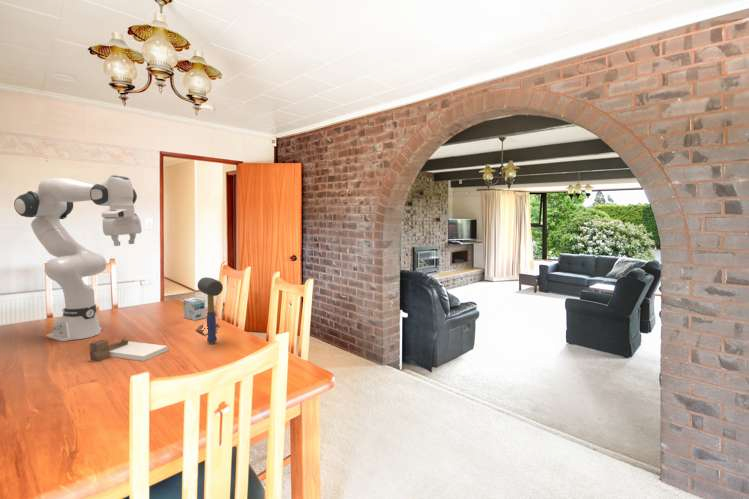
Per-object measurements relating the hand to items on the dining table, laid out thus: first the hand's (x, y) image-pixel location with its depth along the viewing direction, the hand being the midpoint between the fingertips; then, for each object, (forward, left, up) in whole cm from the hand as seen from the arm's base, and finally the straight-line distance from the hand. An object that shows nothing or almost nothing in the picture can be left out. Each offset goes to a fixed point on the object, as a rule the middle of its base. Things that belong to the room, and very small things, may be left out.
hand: (124, 244), depth 164 cm
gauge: (+3, -12, -45) cm, 47 cm away
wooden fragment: (+17, +29, -45) cm, 57 cm away
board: (+11, -8, -45) cm, 47 cm away
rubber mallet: (+34, +11, -45) cm, 58 cm away
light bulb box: (-3, +43, -45) cm, 62 cm away
